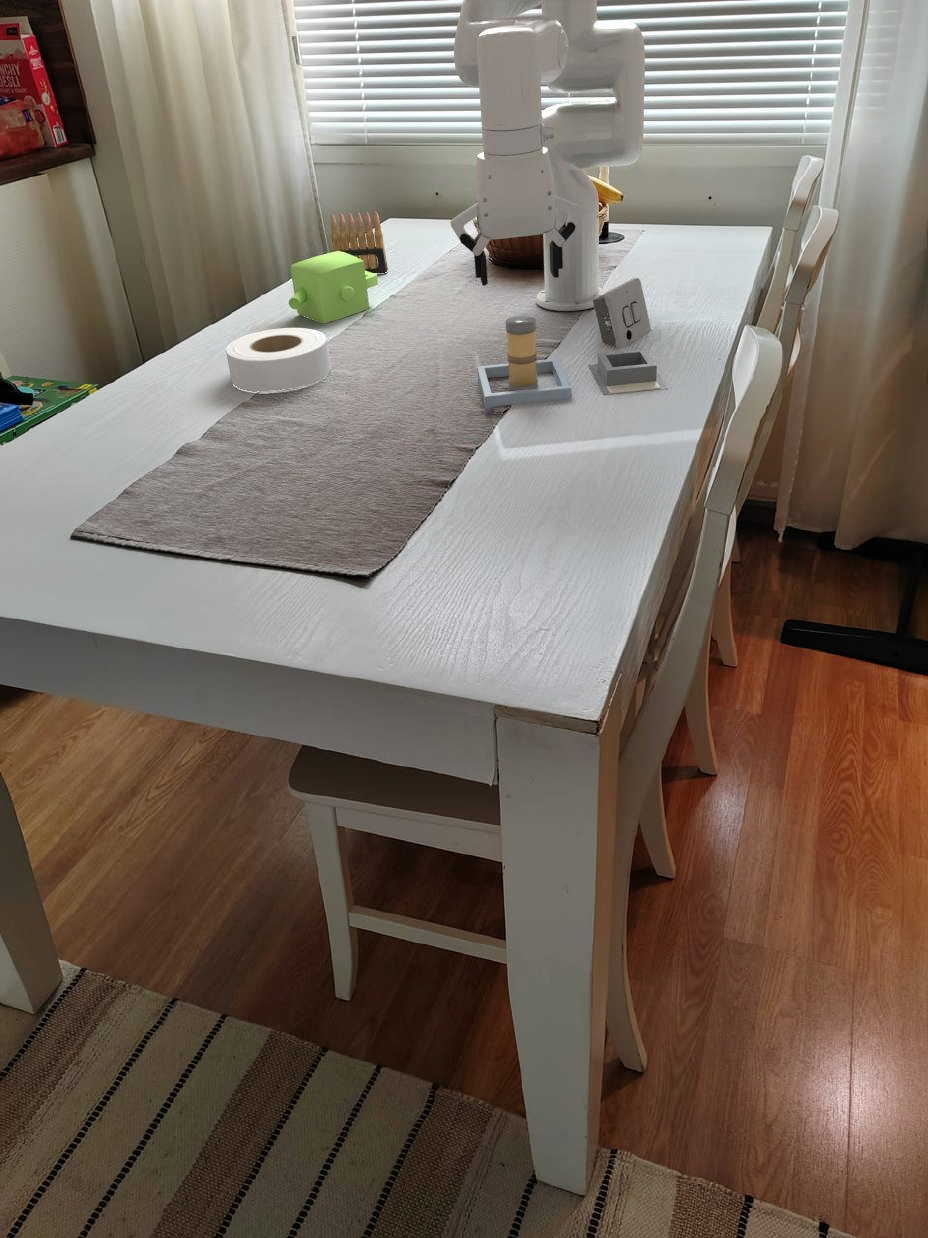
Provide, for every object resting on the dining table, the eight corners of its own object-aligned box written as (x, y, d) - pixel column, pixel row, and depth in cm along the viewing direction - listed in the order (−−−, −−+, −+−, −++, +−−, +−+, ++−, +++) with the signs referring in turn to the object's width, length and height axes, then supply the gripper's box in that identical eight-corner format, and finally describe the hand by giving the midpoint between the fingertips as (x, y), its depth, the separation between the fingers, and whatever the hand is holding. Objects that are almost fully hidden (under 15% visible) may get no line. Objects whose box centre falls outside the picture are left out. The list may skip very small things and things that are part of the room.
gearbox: (306, 335, 173) (297, 281, 168) (277, 322, 180) (267, 269, 174) (388, 307, 182) (382, 255, 176) (357, 295, 188) (351, 245, 183)
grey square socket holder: (587, 371, 147) (587, 348, 145) (647, 365, 148) (648, 342, 146) (603, 401, 137) (603, 377, 135) (667, 395, 138) (668, 370, 136)
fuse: (507, 385, 143) (503, 317, 138) (535, 382, 144) (533, 314, 138) (510, 396, 140) (507, 326, 134) (539, 393, 140) (537, 323, 134)
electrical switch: (622, 354, 152) (618, 293, 148) (593, 352, 155) (588, 292, 151) (652, 336, 158) (649, 277, 154) (624, 334, 161) (621, 276, 157)
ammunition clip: (388, 271, 202) (381, 209, 195) (386, 273, 201) (379, 211, 194) (337, 274, 203) (328, 212, 197) (335, 276, 202) (326, 215, 195)
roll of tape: (280, 354, 165) (274, 320, 162) (351, 367, 157) (346, 333, 154) (211, 386, 155) (203, 351, 152) (283, 402, 147) (276, 366, 144)
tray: (478, 382, 147) (477, 366, 146) (558, 374, 147) (557, 358, 146) (486, 413, 137) (484, 396, 136) (571, 404, 137) (571, 387, 136)
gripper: (575, 128, 127) (577, 263, 137) (442, 142, 126) (454, 277, 136) (586, 139, 121) (587, 280, 131) (446, 154, 120) (458, 294, 130)
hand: (519, 278), depth 134 cm, fingers open, 9 cm apart
